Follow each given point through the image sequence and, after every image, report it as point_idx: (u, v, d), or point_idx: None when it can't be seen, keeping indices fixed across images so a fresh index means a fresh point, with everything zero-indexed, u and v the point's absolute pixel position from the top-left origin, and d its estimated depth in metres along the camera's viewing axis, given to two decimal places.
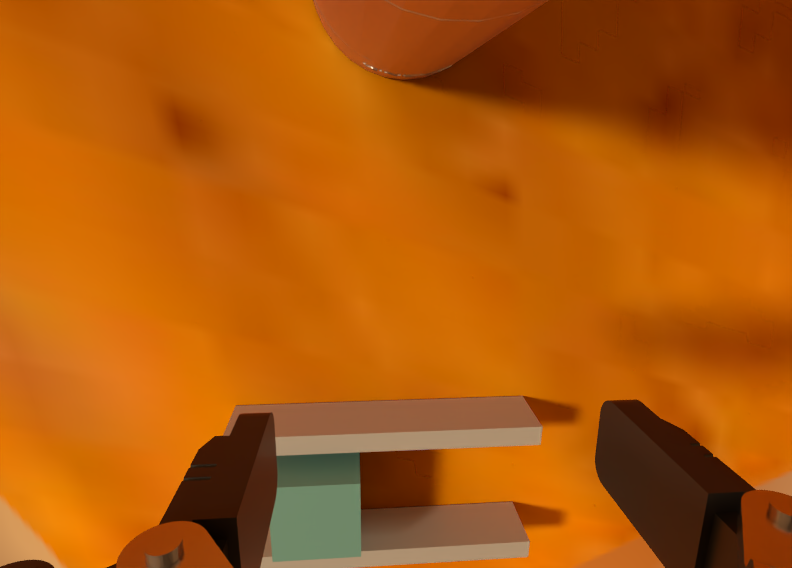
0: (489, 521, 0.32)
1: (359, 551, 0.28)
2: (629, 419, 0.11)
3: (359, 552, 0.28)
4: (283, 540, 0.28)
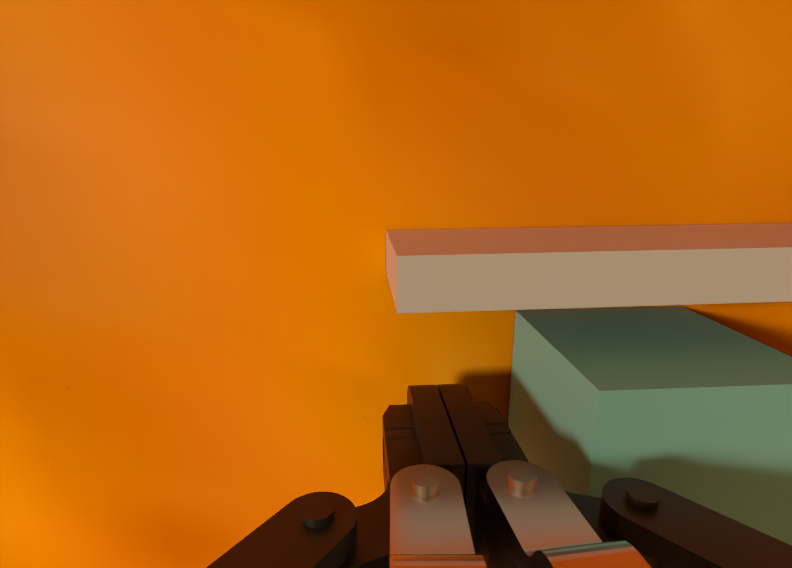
0: None
1: None
2: (444, 400, 0.12)
3: None
4: None
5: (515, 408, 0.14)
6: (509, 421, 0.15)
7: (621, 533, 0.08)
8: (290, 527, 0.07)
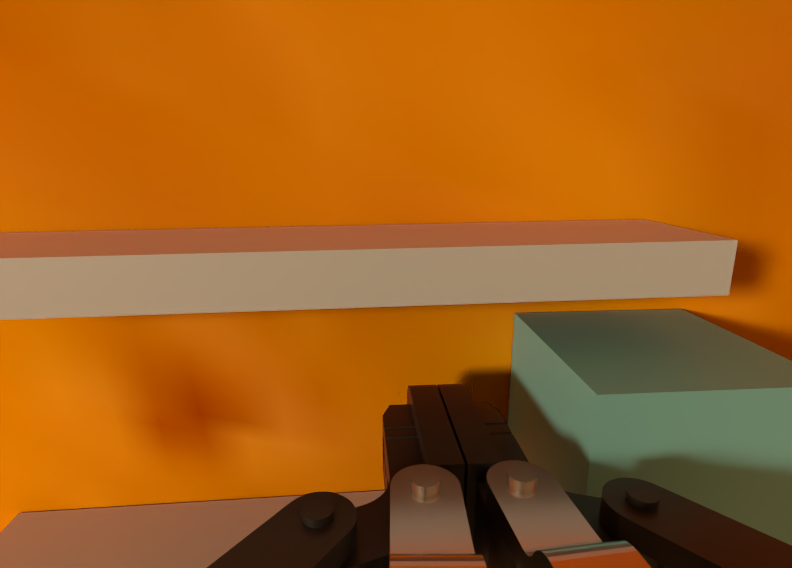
0: None
1: None
2: (444, 400, 0.12)
3: None
4: None
5: (514, 410, 0.14)
6: (508, 423, 0.15)
7: (621, 533, 0.08)
8: (290, 527, 0.07)
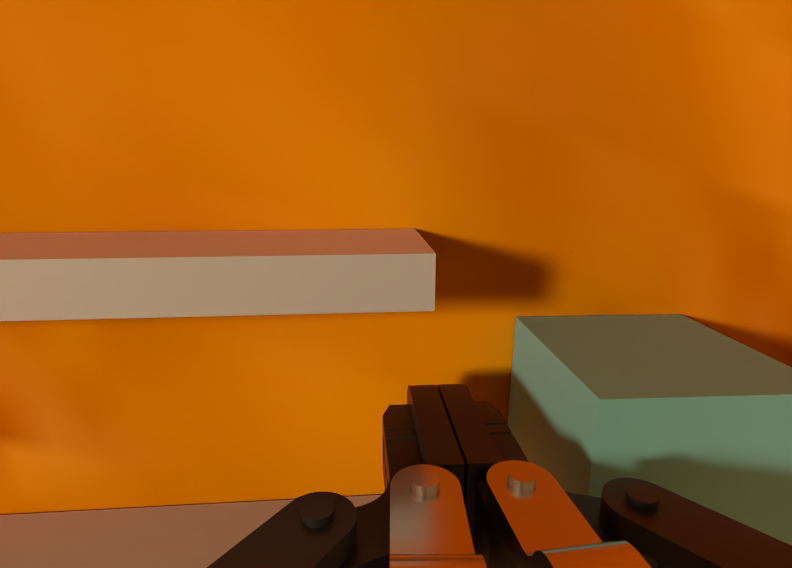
0: None
1: None
2: (444, 400, 0.12)
3: None
4: None
5: (514, 414, 0.14)
6: None
7: (621, 533, 0.08)
8: (290, 527, 0.07)
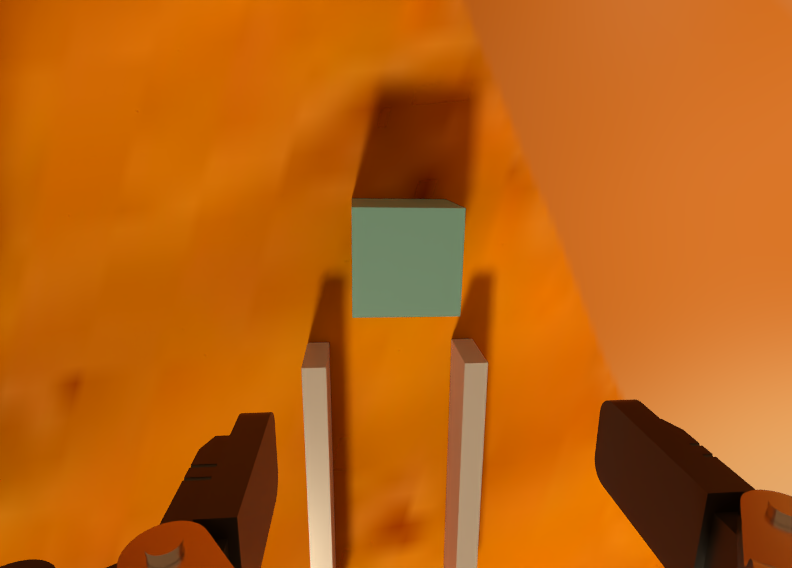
0: (456, 384, 0.27)
1: (456, 210, 0.22)
2: (629, 419, 0.11)
3: (458, 210, 0.22)
4: (429, 302, 0.23)
5: None
6: None
7: None
8: None
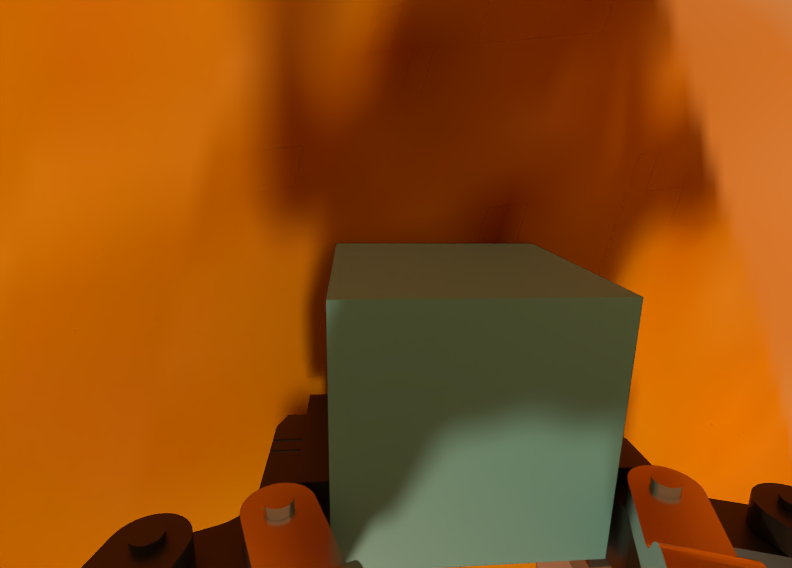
0: None
1: (619, 303, 0.08)
2: None
3: (623, 302, 0.08)
4: (530, 530, 0.09)
5: None
6: None
7: (764, 529, 0.08)
8: (116, 562, 0.07)
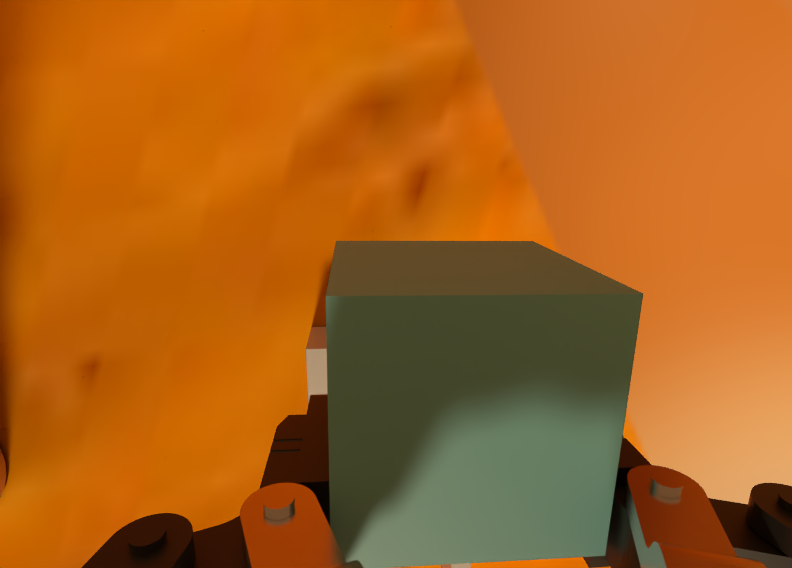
0: None
1: (619, 299, 0.08)
2: None
3: (623, 299, 0.08)
4: (530, 527, 0.09)
5: None
6: None
7: (763, 529, 0.08)
8: (117, 561, 0.07)
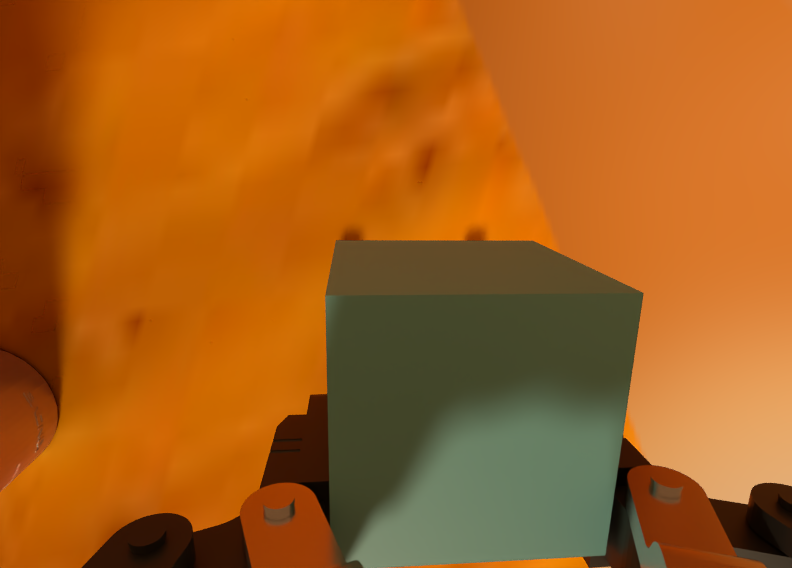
0: None
1: (619, 299, 0.08)
2: None
3: (623, 299, 0.08)
4: (530, 527, 0.09)
5: None
6: None
7: (763, 529, 0.08)
8: (117, 561, 0.07)
